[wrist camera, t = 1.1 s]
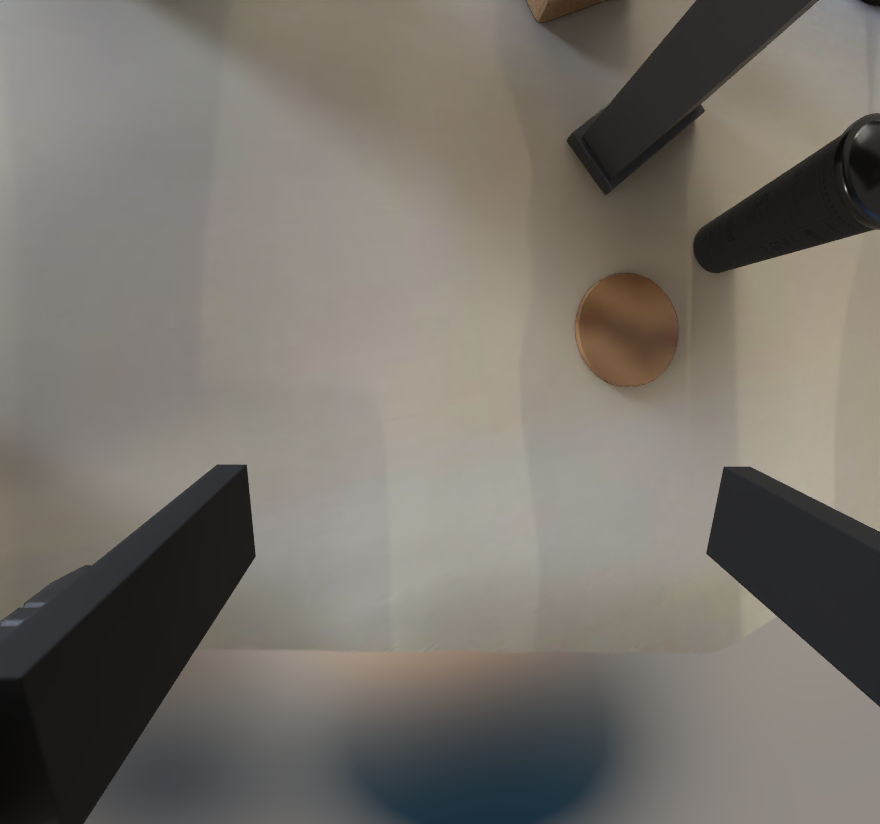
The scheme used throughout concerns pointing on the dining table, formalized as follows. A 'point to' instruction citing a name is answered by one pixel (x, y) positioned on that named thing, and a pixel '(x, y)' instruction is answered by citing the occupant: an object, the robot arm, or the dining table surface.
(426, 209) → the dining table surface
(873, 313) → the dining table surface
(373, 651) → the dining table surface
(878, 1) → the wine glass
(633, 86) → the coffee maker
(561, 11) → the candle holder
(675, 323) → the coaster
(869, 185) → the drinking cup
